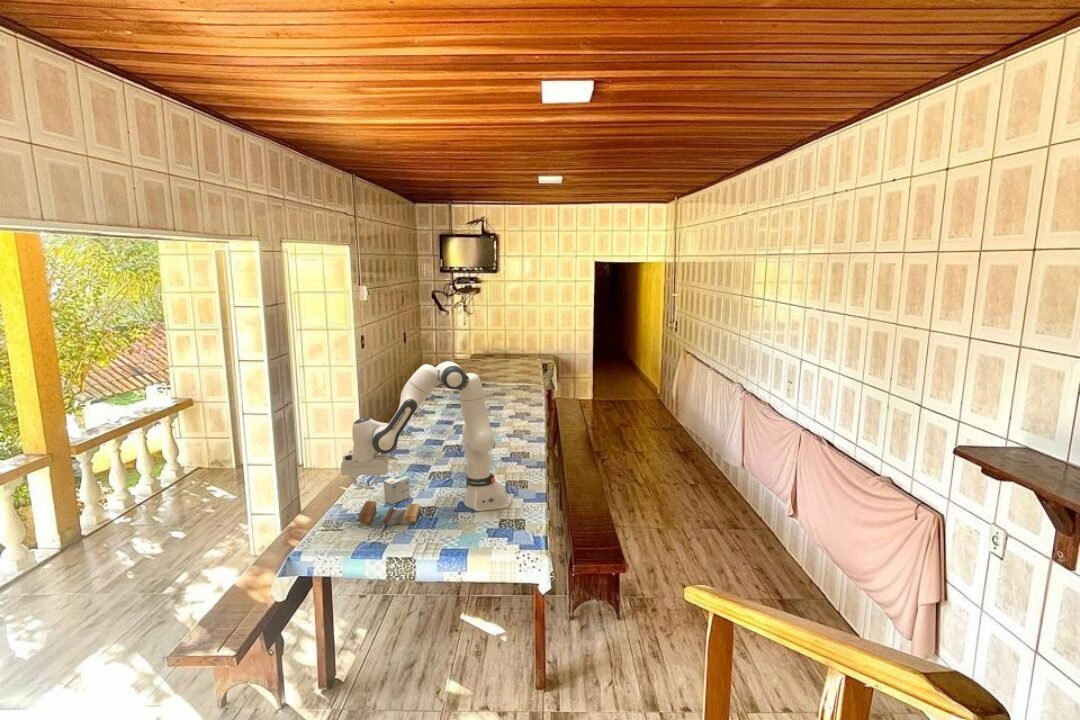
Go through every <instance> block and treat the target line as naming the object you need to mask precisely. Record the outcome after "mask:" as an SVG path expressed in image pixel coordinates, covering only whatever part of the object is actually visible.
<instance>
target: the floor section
mask: <svg viewBox="0 0 1080 720" xmlns="http://www.w3.org/2000/svg"><path fill="white" fill-rule="evenodd" d="M420 507H421V506H420V503H408V504H407V506H406V509H394V507H392V506H391V507H389V508H388V511H387V513H386V515H385V517H384V519H383V521H384V522H383V525H386V526H387V527H388V526H416V523H417V522H418V521H417V520H418V518H419V515H420V512H421V509H420Z"/></svg>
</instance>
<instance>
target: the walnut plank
mask: <svg viewBox="0 0 1080 720" xmlns="http://www.w3.org/2000/svg"><path fill="white" fill-rule="evenodd" d="M376 514H377V501H376V500H370V501H369V500H367V501H365V502H364V504H363V506H362V508H361V509H360V511H359V513H358V515H359V516H358V517H359V526H361V527H363V526H365V527H367V526H371V525H372V523H373V520H374V519H375V517H376Z"/></svg>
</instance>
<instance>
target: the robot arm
mask: <svg viewBox="0 0 1080 720" xmlns="http://www.w3.org/2000/svg"><path fill="white" fill-rule="evenodd" d="M438 385H443V386H444V387H445V388H446V389H449V390H457V391H458V393H459V400H460V406H461V407H460V408H461V413H462V416H463V417H462V418H463V420H464V423H463V425H462V428H461V434H462V438H463V439H462V441H463V446H464V447H463V449H464V453H465V459H466V474H465V475H466V476H465V485H466V486H465V487H466V492H465V497H464V502H463V503H464V505H465V507H467V508H469V509H471V510H474V511H476V512H483V511H484V512H486V511H494V510H500V509H501V510H502V509H503V510H504V509H508V508H509V507H510V506H511V504H512V497H511V495H509V494H508V493H507V491H506V488H505V487H504V485H502V484H500V483H499V482H497V481H496V479H495V474H494V473H492V472H491V457H490V454H489V452H490V451H491V450H492V449H493V448H494V446H495V438H494V436H493V435H494V434H493V431H492V427H491V422H490V420H489V417H488V414H487V413H488V412H487V408H486V401H485V395H484V393H485V392H484V388H483V385H482V381H481V378H480V376H479V375H478V374H477V373H473V372H468V373H466V372H465V371H464V370H463V368H462V367H461V365H459V364H458V363H456V362H455V361H453V360H450V359H448V360H447V359H446V360H443V361H440V362H439V363H437V364H435V365H432V364H428V363H426V364H422V365H421V366H420V367H419V368H418V369H416V371H414V373H413V374H412V375H411V376H410V378H409V379H408V380H407V381H406V383H405V385H404V386H403V389H402V390H401V393H400V398H399V399H400V400H399V405H398V408H397V411H396V412H395V414H394V415H393V417H392V418H391V419H390V421H389V423H388V422H382V421H381V422H380V421H378V420H374V419H373V418H371V417H366V416H365V417H361V418H358V419H357V420H355V421H354V422H353V424H352V432H351V433H352V442H353V447H352V449H351V450H347V451H346V452H345V453H344V454H343V456H342V457H341V458H342V462H341V464H340V475H342V476H349V479H350V480H351V481H352V485H357V483H358V479H357V478H355V476H376V477H377V478H375V479H374V482H373V483H374V485H378V484H379V480H380V478H381V476H386V475H388V472H389V471H390V470H389V469H390V468H389V457H388V455H386V454H389V453H392V452H393V451H394V450H395V449H396V448H397V446H398V442H399V441H398V440H399V437H400V435H401V433H402V431H403V430H404V429H405V427H406V426H407V424H408V423H409V421H410V420H411V418H412V417H413V416H414V414H415V413H416V411H417V410H418V409H419V408H420V406H422V404H423V403H424V401H426V399H427V398H428V397H429V395H430V394H431V392H432V391H433V389H435V387H437V386H438ZM375 452H377V453H375Z"/></svg>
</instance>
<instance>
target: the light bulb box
mask: <svg viewBox="0 0 1080 720" xmlns="http://www.w3.org/2000/svg"><path fill="white" fill-rule="evenodd" d="M383 490H384V491H383V492H384V502H387V503H389V504H391V505H395V504H397V503H400V502H401V501H404V500H407V499H409V498H411V493H410V492H411V491H410V490H411V489H410V476H408V475H405V474H403V473H400V474H397V475H395V476H392V477H390V478H386V479H384V480H383Z"/></svg>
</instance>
